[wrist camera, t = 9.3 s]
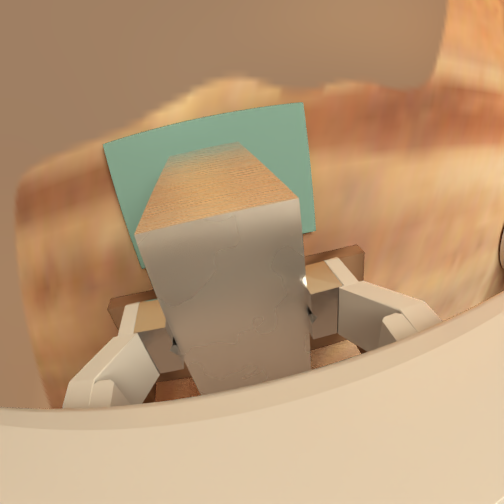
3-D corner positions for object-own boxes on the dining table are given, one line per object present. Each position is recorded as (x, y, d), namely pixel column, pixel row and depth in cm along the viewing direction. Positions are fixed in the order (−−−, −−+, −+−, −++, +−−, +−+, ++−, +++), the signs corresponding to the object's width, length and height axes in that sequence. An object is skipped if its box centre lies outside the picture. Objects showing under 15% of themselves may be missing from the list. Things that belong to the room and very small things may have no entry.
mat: (300, 102, 20) (303, 102, 19) (313, 227, 25) (315, 230, 24) (105, 143, 19) (102, 144, 18) (142, 265, 24) (141, 268, 23)
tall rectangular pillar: (237, 141, 17) (298, 198, 7) (256, 247, 20) (311, 380, 11) (169, 156, 16) (134, 235, 7) (196, 261, 20) (205, 405, 10)
